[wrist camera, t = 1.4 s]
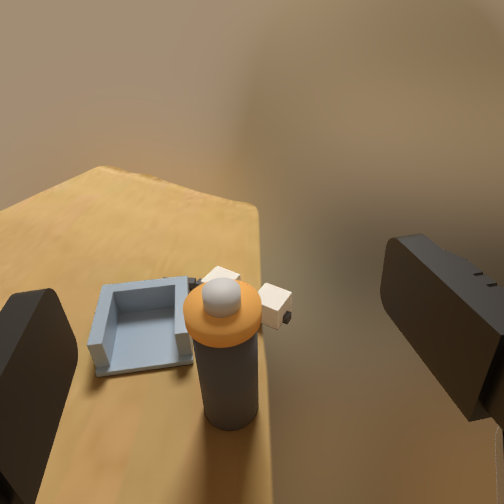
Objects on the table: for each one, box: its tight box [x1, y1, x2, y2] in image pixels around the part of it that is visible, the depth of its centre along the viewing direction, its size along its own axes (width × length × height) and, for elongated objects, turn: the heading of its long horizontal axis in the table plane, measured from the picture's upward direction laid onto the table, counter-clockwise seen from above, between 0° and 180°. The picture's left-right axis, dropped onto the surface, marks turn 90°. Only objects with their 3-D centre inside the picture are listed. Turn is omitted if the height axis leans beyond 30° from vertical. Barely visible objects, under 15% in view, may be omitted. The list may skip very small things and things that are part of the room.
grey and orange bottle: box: [183, 278, 262, 431], centre depth 27 cm, size 5×5×12 cm
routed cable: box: [188, 266, 292, 330], centre depth 39 cm, size 15×7×3 cm, turn 59°
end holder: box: [87, 276, 193, 377], centre depth 35 cm, size 8×8×4 cm
